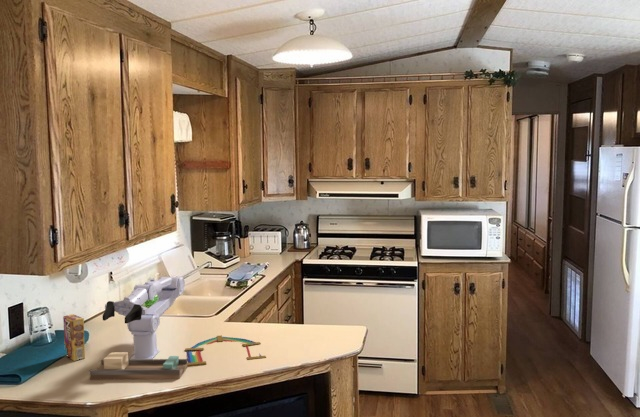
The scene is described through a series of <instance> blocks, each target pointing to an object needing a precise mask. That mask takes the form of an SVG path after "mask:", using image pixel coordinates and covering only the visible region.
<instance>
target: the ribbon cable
mask: <svg viewBox="0 0 640 417" xmlns="http://www.w3.org/2000/svg"><path fill="white" fill-rule="evenodd" d="M216 342H218V343H224V342H229V343H235V342H236V343H237V342H238V343H240V344H241V345H242V347H244V348H246V352H247V354H248V357H246V360H247V361H249V360H258V359H267V356H266V355H262V354H260V353H259V354H258V356H257V355H256V356H251V352H250V348H249V346H256V345H261V344H262V343H261V342H260V341H257V342H256V341H254V340H250V339H246V338H241V337H240V338H239V337H232V336H231V337H227V336H222V335H216V337H215V336H214V337H212V338H209V339H206V340H203V341H200V342H197V343H195V345H193V346H191V347H190V348H189V347H187V348H185V349H184V352H186V355H187V356H186V357H187V368H189V367H195V366H197V367H198V366H204V365H207V361H204V360H203V357H202V352H203V351H204V350H205V348H204V347H200V346H204V345H206V346H208V345H211V344H214V343H216ZM193 351H195V352H194V354H193V353H192V352H193Z"/></svg>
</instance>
